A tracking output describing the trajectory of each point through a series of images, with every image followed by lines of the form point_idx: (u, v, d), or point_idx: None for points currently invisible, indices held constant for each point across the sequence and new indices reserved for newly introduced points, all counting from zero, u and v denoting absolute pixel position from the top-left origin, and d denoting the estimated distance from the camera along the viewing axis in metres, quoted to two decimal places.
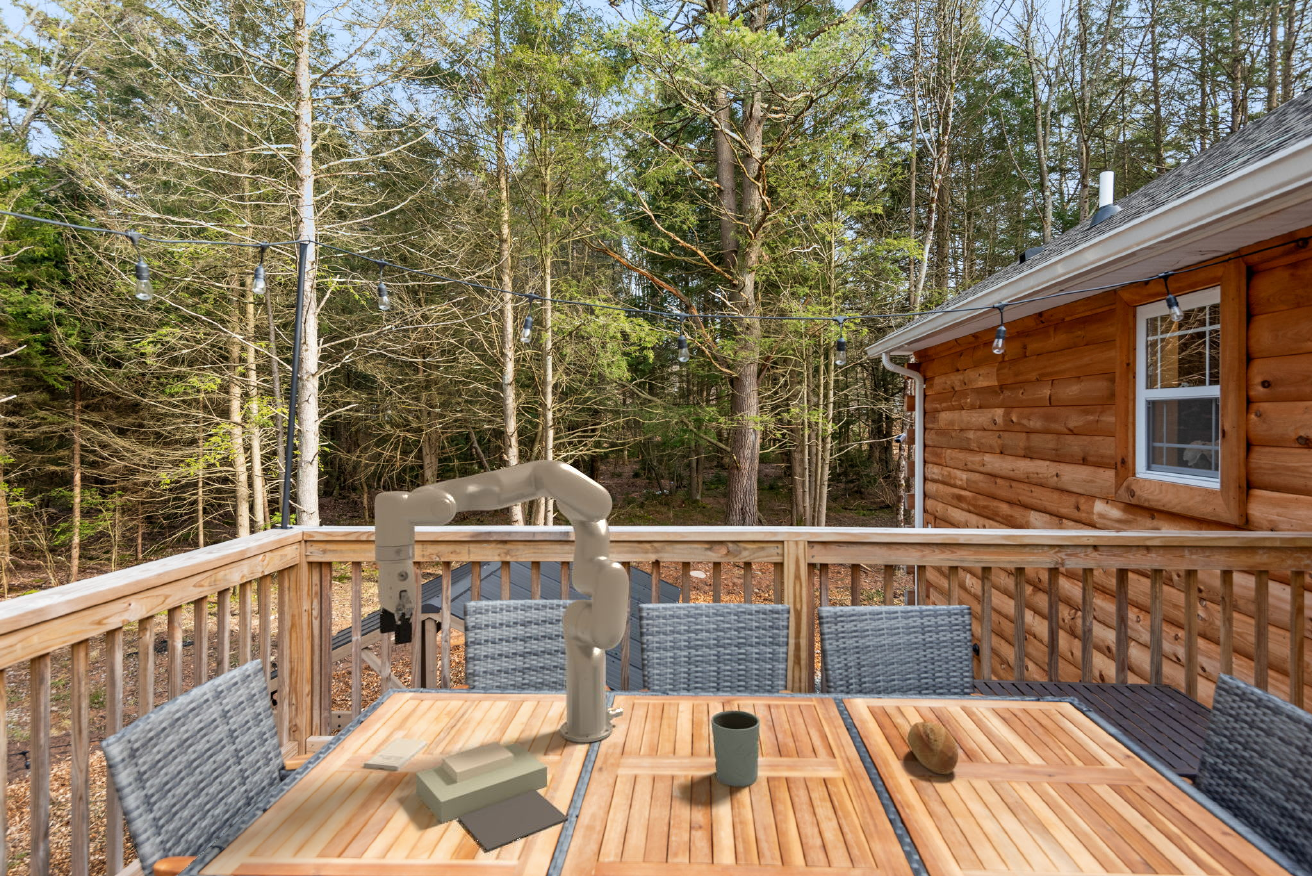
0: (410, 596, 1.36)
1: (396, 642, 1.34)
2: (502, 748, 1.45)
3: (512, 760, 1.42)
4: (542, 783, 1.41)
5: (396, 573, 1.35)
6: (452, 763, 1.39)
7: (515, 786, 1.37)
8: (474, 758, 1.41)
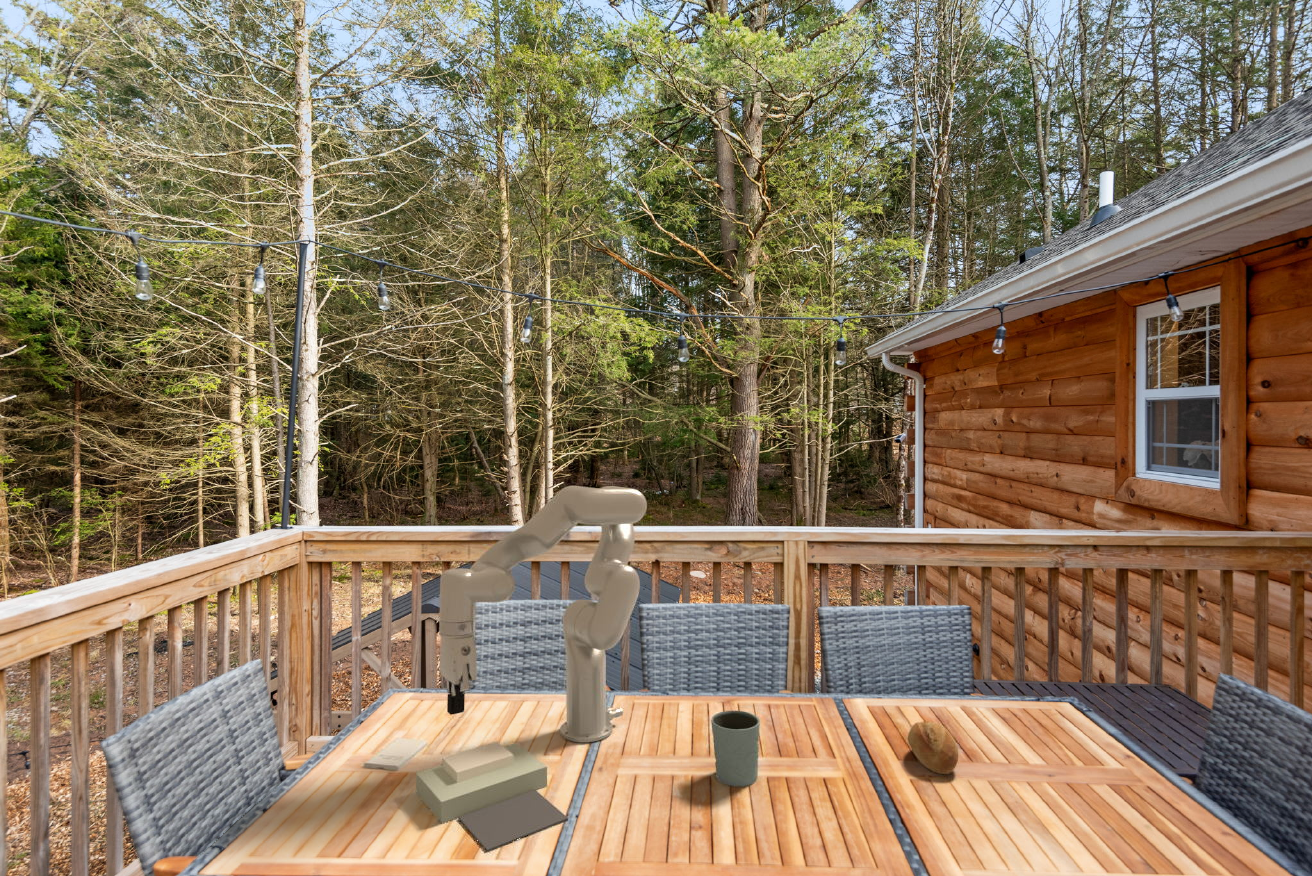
0: (472, 669, 1.46)
1: (450, 712, 1.48)
2: (502, 748, 1.45)
3: (512, 760, 1.42)
4: (542, 783, 1.41)
5: (460, 648, 1.45)
6: (452, 763, 1.39)
7: (515, 786, 1.37)
8: (474, 758, 1.41)
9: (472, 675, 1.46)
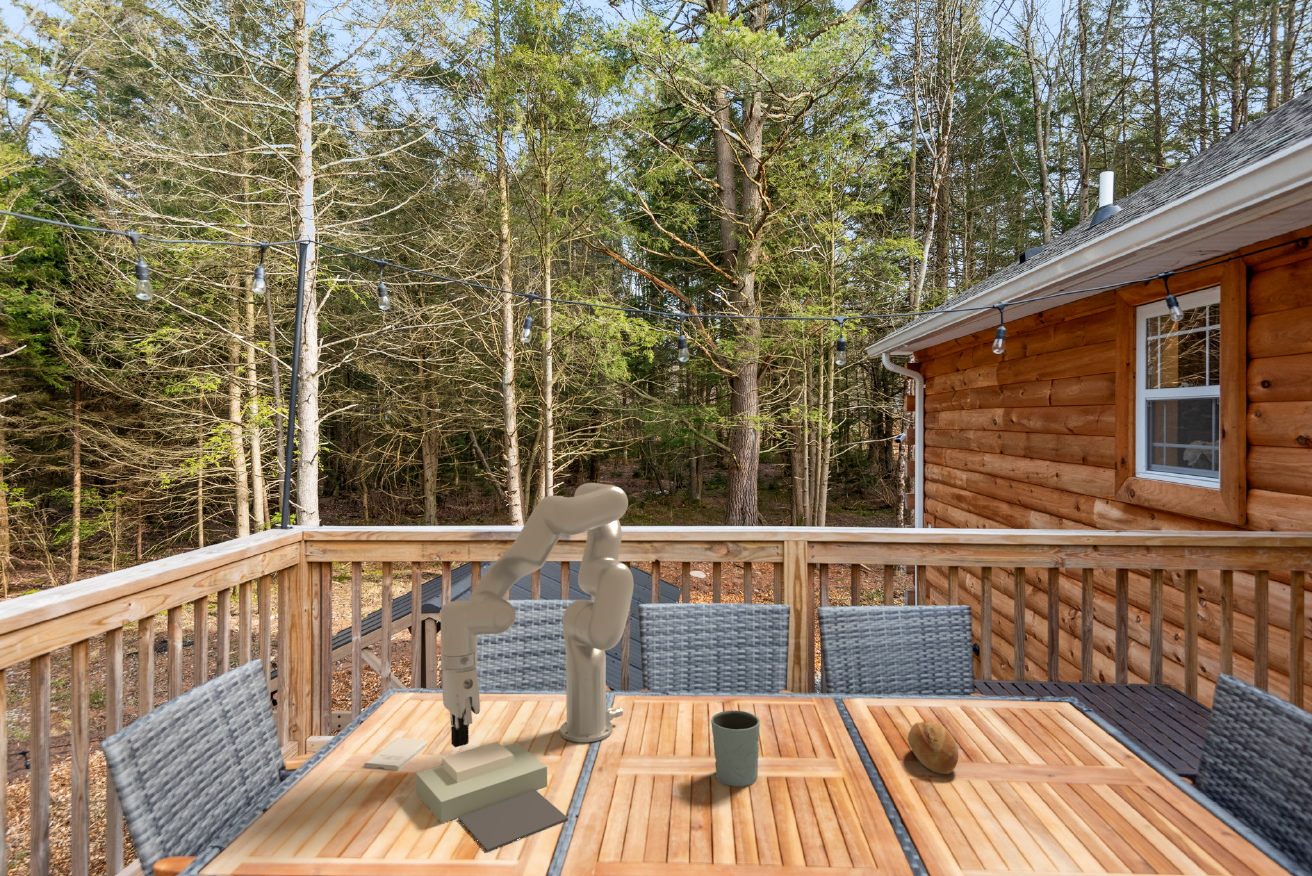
0: (475, 702, 1.46)
1: (455, 745, 1.48)
2: (502, 748, 1.45)
3: (512, 760, 1.42)
4: (542, 783, 1.41)
5: (462, 681, 1.45)
6: (452, 763, 1.39)
7: (515, 786, 1.37)
8: (474, 758, 1.41)
9: (475, 708, 1.46)
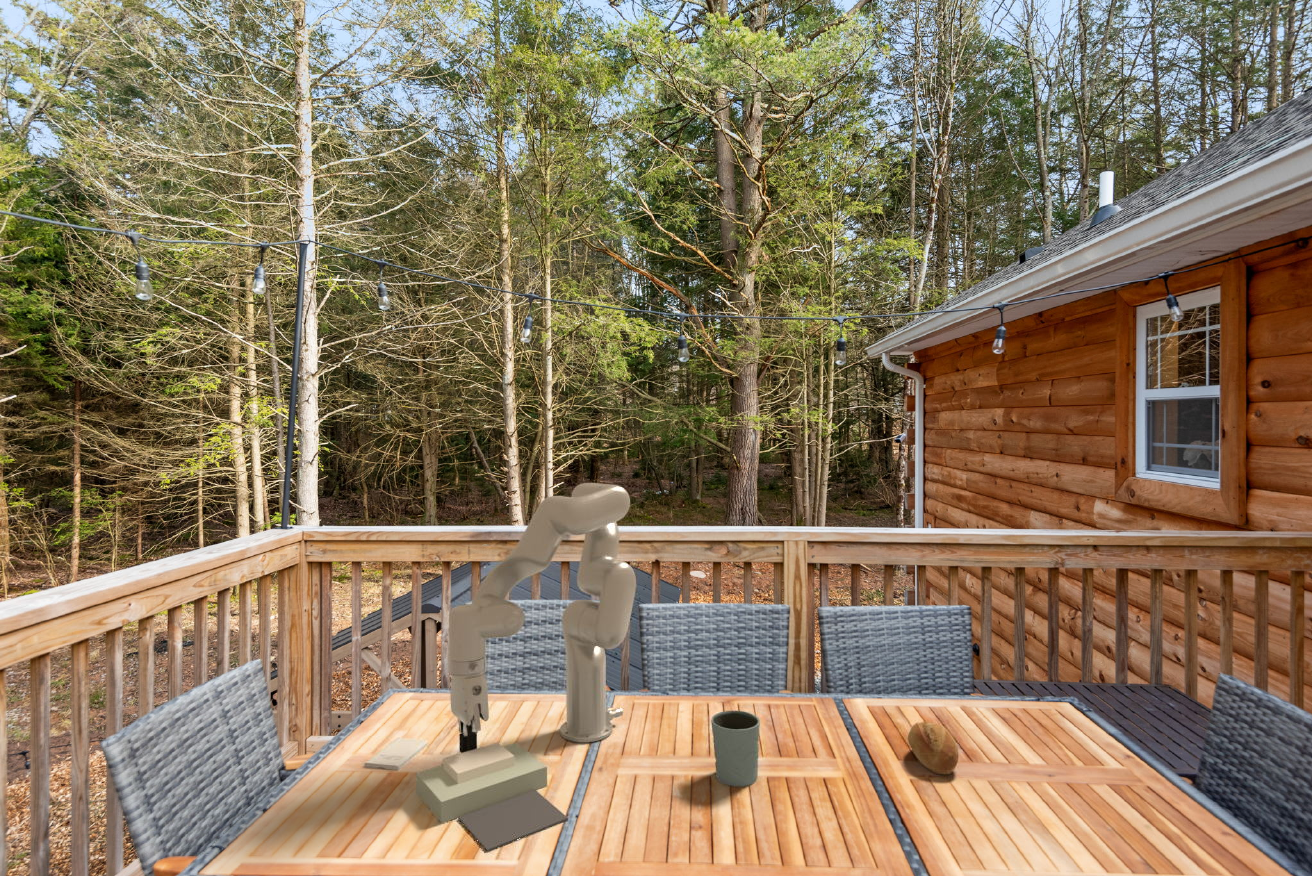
0: (483, 709, 1.42)
1: None
2: (503, 749, 1.45)
3: (513, 761, 1.42)
4: (542, 783, 1.41)
5: (471, 688, 1.41)
6: (453, 764, 1.38)
7: (515, 786, 1.37)
8: (475, 759, 1.40)
9: (484, 715, 1.42)
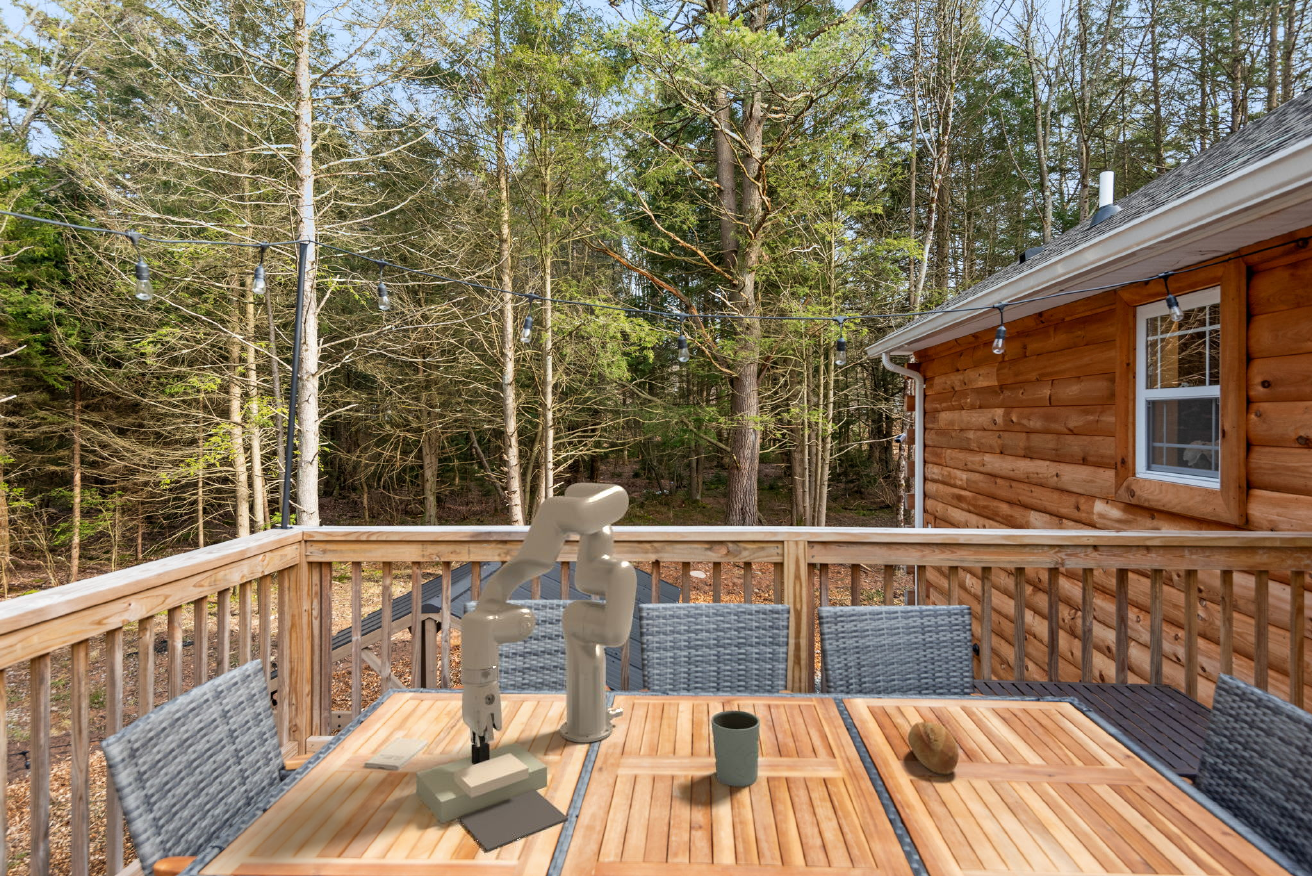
0: (497, 719, 1.37)
1: None
2: (516, 760, 1.40)
3: (527, 773, 1.37)
4: (542, 783, 1.41)
5: (483, 697, 1.36)
6: (465, 777, 1.33)
7: (515, 786, 1.37)
8: (488, 771, 1.35)
9: (497, 725, 1.37)
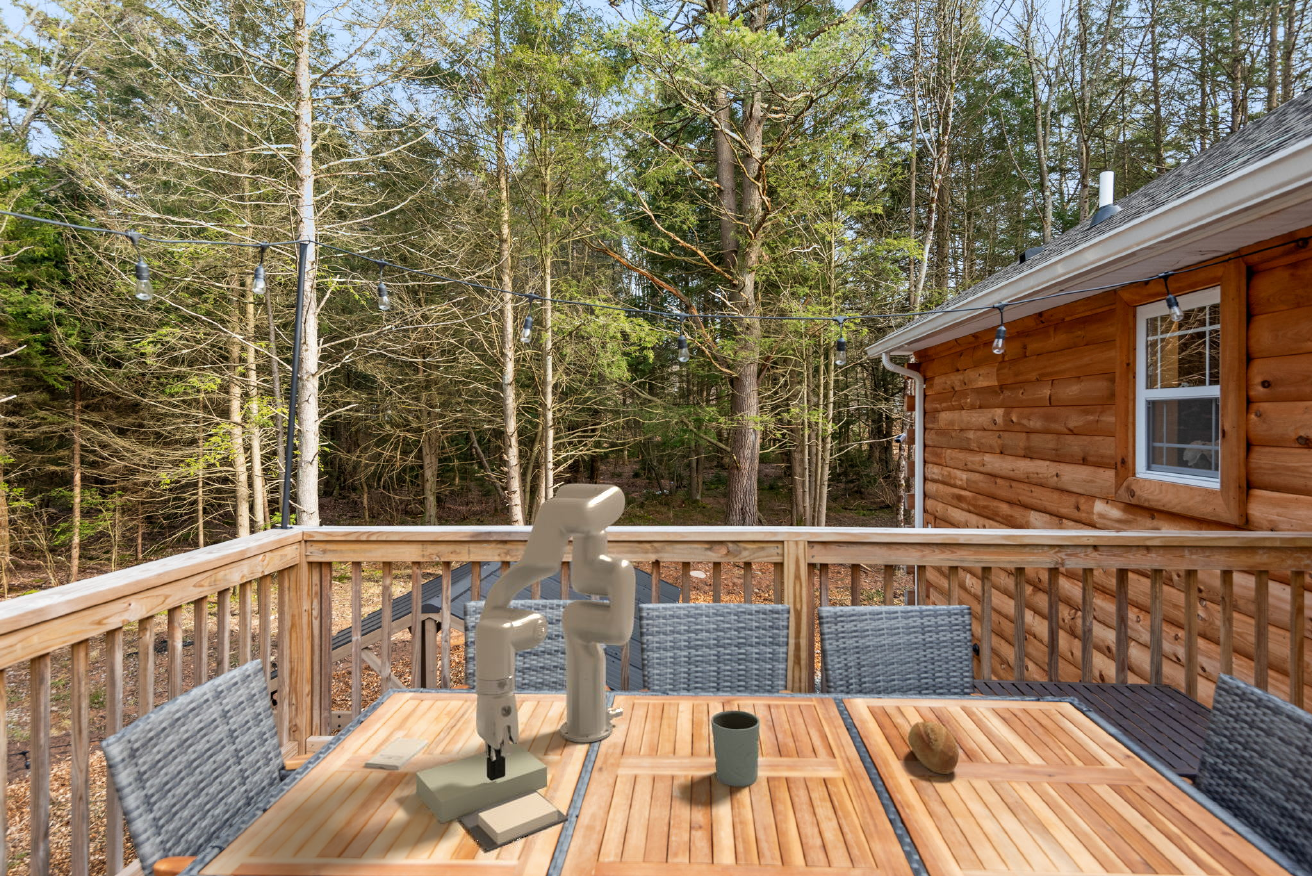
0: (513, 731, 1.32)
1: (491, 778, 1.33)
2: None
3: None
4: (542, 783, 1.41)
5: (500, 708, 1.30)
6: None
7: (515, 786, 1.37)
8: None
9: (514, 737, 1.32)
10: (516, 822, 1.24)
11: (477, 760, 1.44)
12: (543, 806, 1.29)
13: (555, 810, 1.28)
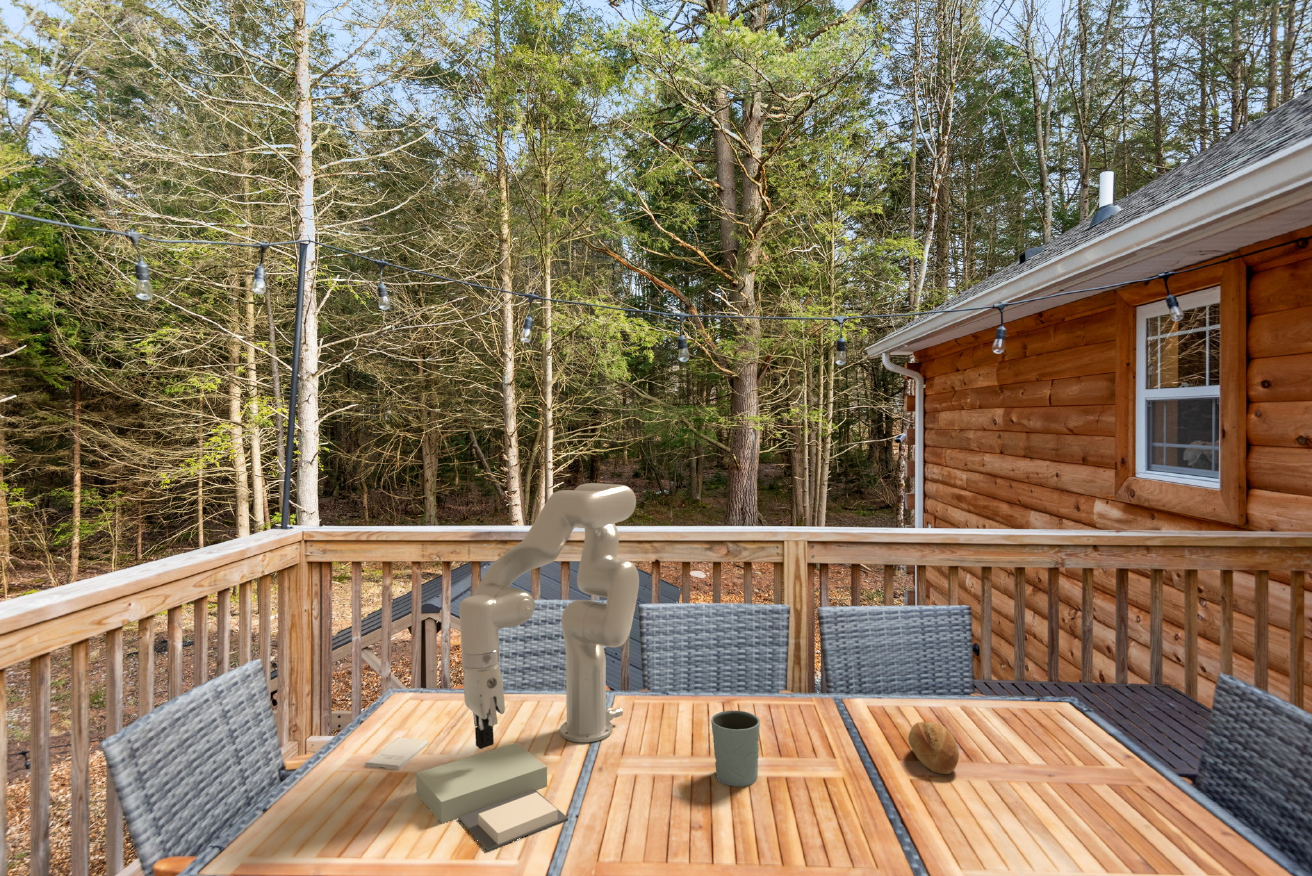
0: (499, 702, 1.38)
1: (479, 746, 1.40)
2: None
3: None
4: (542, 783, 1.41)
5: (485, 681, 1.37)
6: None
7: (515, 786, 1.37)
8: None
9: (500, 708, 1.38)
10: (516, 822, 1.24)
11: (477, 760, 1.44)
12: (543, 806, 1.29)
13: (555, 810, 1.28)
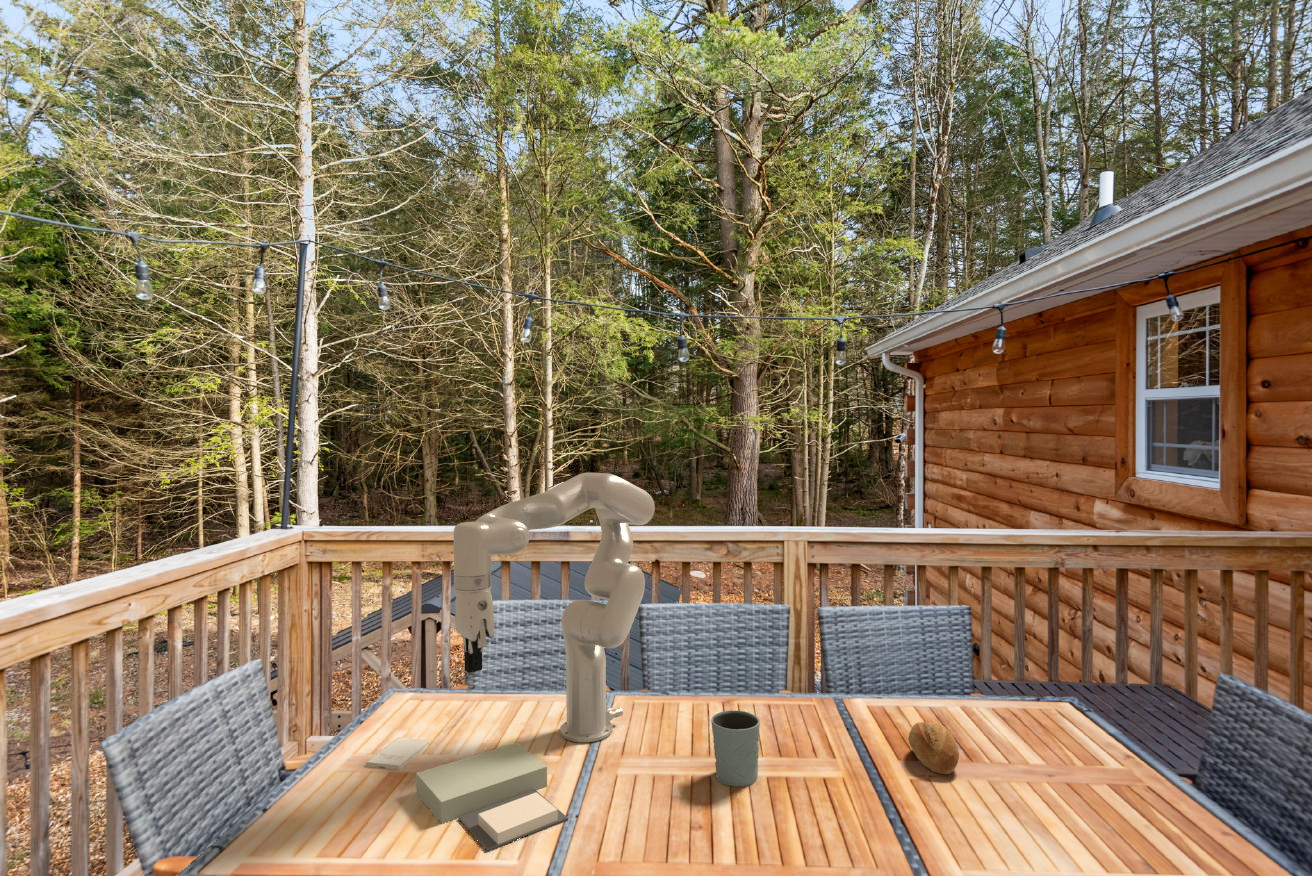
0: (489, 625, 1.40)
1: (468, 670, 1.42)
2: None
3: None
4: (542, 783, 1.41)
5: (476, 603, 1.39)
6: None
7: (515, 786, 1.37)
8: None
9: (490, 631, 1.40)
10: (516, 822, 1.24)
11: (477, 760, 1.44)
12: (543, 806, 1.29)
13: (555, 810, 1.28)
